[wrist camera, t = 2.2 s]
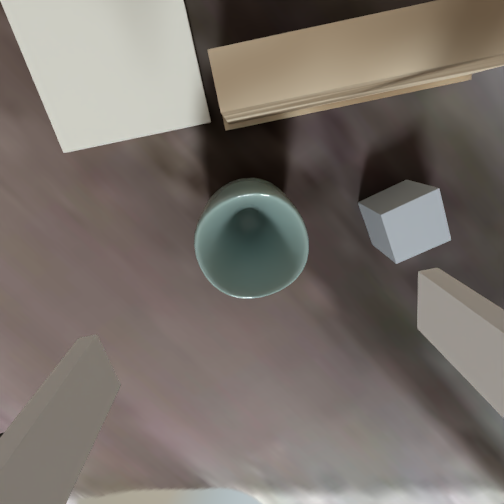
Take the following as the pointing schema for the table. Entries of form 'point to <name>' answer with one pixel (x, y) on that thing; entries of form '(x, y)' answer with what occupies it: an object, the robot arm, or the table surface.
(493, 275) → the table surface
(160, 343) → the table surface
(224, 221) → the cup
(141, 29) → the pad
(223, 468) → the table surface
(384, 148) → the table surface
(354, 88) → the wooden board
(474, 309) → the robot arm
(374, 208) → the slate block
